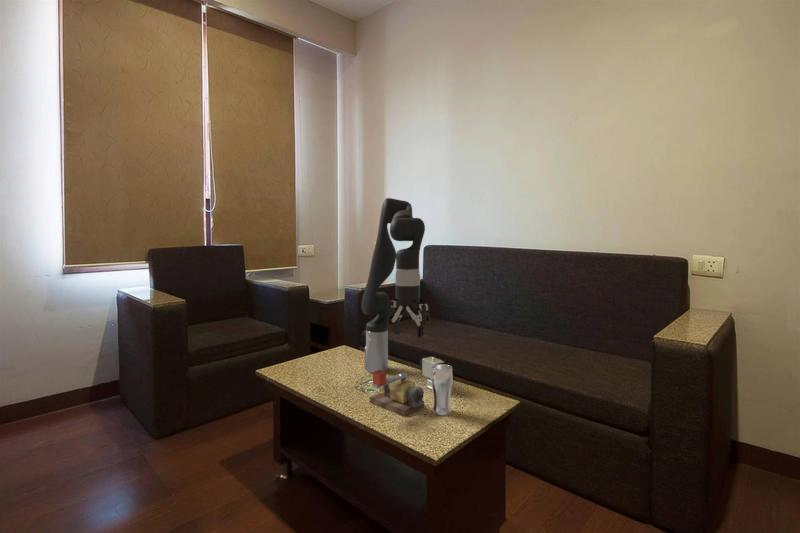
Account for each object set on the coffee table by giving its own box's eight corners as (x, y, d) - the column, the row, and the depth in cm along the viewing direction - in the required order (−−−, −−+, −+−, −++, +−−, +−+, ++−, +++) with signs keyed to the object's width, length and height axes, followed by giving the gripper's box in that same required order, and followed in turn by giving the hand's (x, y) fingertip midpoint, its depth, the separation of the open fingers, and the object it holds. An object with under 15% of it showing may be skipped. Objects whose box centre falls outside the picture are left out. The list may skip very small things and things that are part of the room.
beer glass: (434, 405, 145) (434, 362, 144) (454, 409, 142) (455, 365, 141) (428, 414, 138) (428, 369, 137) (449, 417, 136) (449, 371, 135)
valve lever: (402, 375, 146) (402, 362, 146) (409, 377, 144) (409, 363, 144) (371, 387, 136) (371, 372, 136) (378, 389, 134) (378, 374, 133)
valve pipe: (370, 402, 148) (369, 376, 147) (390, 394, 155) (390, 368, 154) (406, 417, 136) (406, 388, 135) (426, 407, 143) (426, 380, 143)
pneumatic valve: (438, 394, 154) (438, 362, 153) (419, 385, 164) (419, 354, 163) (450, 391, 158) (450, 359, 156) (430, 382, 167) (430, 352, 166)
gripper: (434, 283, 129) (434, 336, 130) (396, 281, 137) (396, 330, 139) (420, 286, 123) (421, 341, 124) (381, 283, 131) (382, 335, 133)
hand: (408, 335), depth 131 cm, fingers open, 8 cm apart
